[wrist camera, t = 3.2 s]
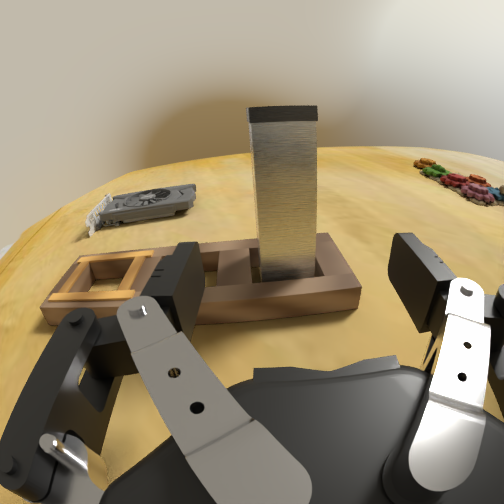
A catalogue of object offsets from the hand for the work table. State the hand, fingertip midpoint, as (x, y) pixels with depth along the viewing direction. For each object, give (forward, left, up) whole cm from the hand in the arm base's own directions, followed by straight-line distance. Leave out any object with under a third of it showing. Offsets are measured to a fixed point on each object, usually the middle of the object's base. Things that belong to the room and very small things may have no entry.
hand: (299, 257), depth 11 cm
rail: (-2, -12, -8) cm, 15 cm away
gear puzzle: (-62, +4, -9) cm, 63 cm away
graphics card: (-9, -34, -9) cm, 37 cm away
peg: (-8, -6, -8) cm, 13 cm away
